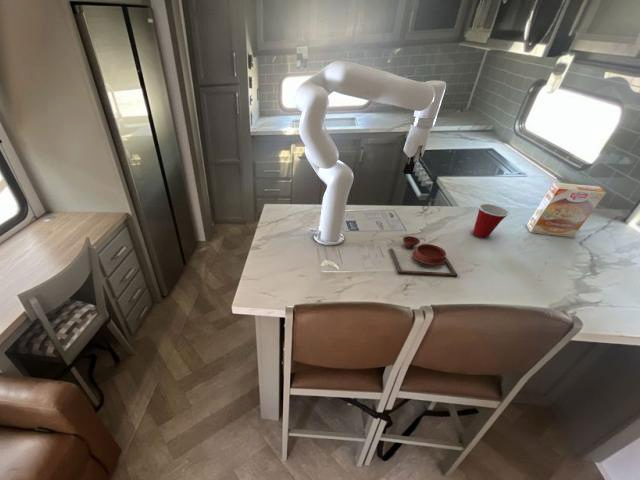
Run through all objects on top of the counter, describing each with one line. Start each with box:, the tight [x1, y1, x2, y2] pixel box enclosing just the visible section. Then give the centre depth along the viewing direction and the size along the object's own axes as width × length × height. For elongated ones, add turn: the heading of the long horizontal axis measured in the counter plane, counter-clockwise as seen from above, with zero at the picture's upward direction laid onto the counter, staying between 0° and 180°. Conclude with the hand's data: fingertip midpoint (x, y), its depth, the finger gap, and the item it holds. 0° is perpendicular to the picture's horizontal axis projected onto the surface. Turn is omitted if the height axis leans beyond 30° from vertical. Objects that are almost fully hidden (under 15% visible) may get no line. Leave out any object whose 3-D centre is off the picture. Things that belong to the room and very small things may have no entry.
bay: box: [389, 247, 458, 278], centre depth 122 cm, size 20×16×1 cm
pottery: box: [402, 236, 447, 266], centre depth 125 cm, size 12×20×4 cm, turn 15°
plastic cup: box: [472, 203, 510, 239], centre depth 132 cm, size 11×11×12 cm
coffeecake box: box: [526, 181, 607, 238], centre depth 130 cm, size 15×7×20 cm, turn 68°
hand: (407, 173), depth 126 cm, fingers closed
